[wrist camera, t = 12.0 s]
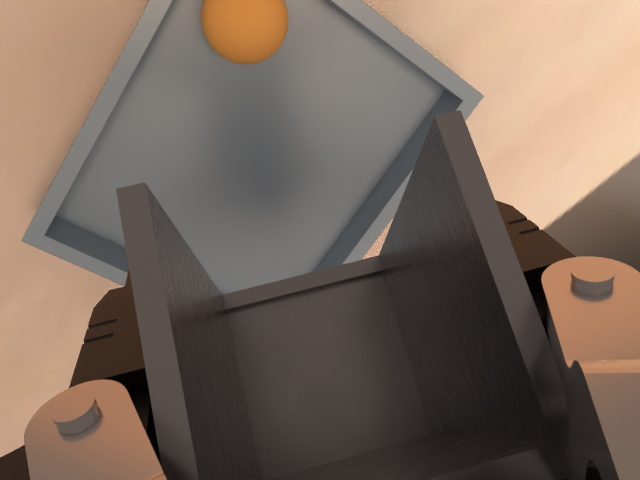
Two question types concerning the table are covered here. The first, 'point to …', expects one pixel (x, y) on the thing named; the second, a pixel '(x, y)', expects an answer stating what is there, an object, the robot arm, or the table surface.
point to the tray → (252, 143)
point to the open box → (356, 348)
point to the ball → (245, 28)
